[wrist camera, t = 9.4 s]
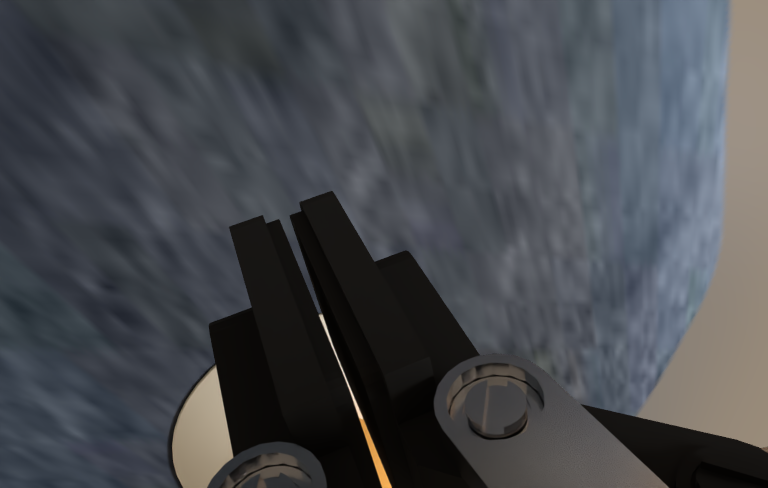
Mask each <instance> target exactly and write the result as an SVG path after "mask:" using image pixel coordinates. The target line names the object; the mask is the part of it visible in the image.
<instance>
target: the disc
mask: <svg viewBox="0 0 768 488" xmlns="http://www.w3.org/2000/svg"><path fill="white" fill-rule="evenodd" d="M319 317H320V319H321V321H322V324H323V326H324V329H325V331H326V333H327V336H328V338H329V341H330V343H331V346H332V348H333V350H334V353H335V355H336V352H335V349H334V347H333V344H332V341H331V338H330V335H329V333H328V330H327V327H326V324H325V321H324V318H323V315H322V313H321V314H319ZM336 358H337V360H338V362H339V359H338V357H337V355H336ZM339 365H340V367H341V364H340V362H339ZM341 370H342V372H343V375H344V377H345V380H346V382H347V385H348V388H349V390H350V393H351V396H352V399H353V401H354V404H355V407H356V410H357V413H358V416H359V418H361V419H363V417H362V415H361V412H360V410H359V407H358V405H357V403H356V400H355V398H354V395H353V393H352V391H351V388H350V386H349V383H348V381H347V379H346V376H345V374H344V371H343V369H342V367H341ZM172 451H173V463H174V467H175V470H176V474H177V477H178V478H179V480H180V482H181V484H182V486H183V488H207V487H208V485H209V483H210V481H211V479H212V478H213V477H214V476H215V475H216V473H217V472H218V471H219V470H220V469H221V468H222V467H223V466H224V464H225V463H227V462H228V461H230V460H231V459H232V458H233V453H232V447H231V442H230V437H229V432H228V426H227V421H226V416H225V411H224V406H223V400H222V395H221V390H220V385H219V379H218V374H217V369H216V365H215V366H214V367H212V368H211V369H210V370H209V371H208V372H207V374H206V375H205V376H204V377H203V378H202V379H201V380H200V381H199V382H198V384H197V385H196V386H195V388H194V389H193V391H192V392H191V394H190V395H189V396H188V398H187V399H186V401H185V403H184V405H183V407H182V409H181V411H180V413H179V416H178V419H177V422H176V425H175V428H174V434H173V442H172Z"/></svg>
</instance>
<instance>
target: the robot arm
mask: <svg viewBox="0 0 768 488" xmlns="http://www.w3.org/2000/svg"><path fill="white" fill-rule="evenodd" d="M299 203H300V208H301V212H298V213H295V214H292V215H290V219H291V222H292V225H293V228H294V231H295V234H296V237H297V240H298V243H299V246H300V249H301V252H302V255H303V258H304V261H305V264H306V267H307V270H308V273H309V276H310V279H311V282H312V285H313V288H314V291H315V294H316V297H317V300H318V303H319V306H320V309H321V312H322V315H323V318H324V321H325V324H326V327H327V330H328V333H329V335H330V338H331V341H332V344H333V347H334V349H335V352H336V355H337V357H338V359H339V362H340V364H341V367H342V369H343V371H344V374H345V376H346V379H347V381H348V383H349V386H350V388H351V391H352V393H353V395H354V398H355V400H356V403H357V405H358V407H359V410H360V412H361V415H362V417H363V419H364V422H365V424H366V427H367V429H368V432H369V434H370V436H371V439H372V441H373V444H374V446H375V448H376V451H377V453H378V456H379V458H380V460H381V463H382V465H383V468H384V470H385V472H386V475H387V477H388V480H389V482H390V484H391V487H392V488H768V447H763V448H759V447H756V446H753V445H750V444H747V443H744V442H741V441H738V440H735V439H731V438H726V437H722V436H718V435H713V434H708V433H704V432H700V431H696V430H691V429H687V428H682V427H678V426H674V425H669V424H665V423H660V422H656V421H652V420H647V419H643V418H639V417H634V416H630V415H625V414H621V413H617V412H612V411H608V410H604V409H599V408H595V407H590V406H586V405H582V404H579V403H578V402H577V401H576V400H575V399H574V398H573V397H572V396H571V395H570V394H569V393H568V392H567V391H566V390H565V389H564V388H562V387H561V386H560V385H559V384H558V383H557V382H556V381H555V380H554V379H553V378H552V377H551V376H550V375H549V374H548V373H546V372H545V371H544V370H543V369H541V368H540V367H539V366H537V365H536V364H534V363H533V362H531V361H530V360H527V359H524V358H521V357H518V356H515V355H509V354H498V353H494V354H487V355H479V353H478V352H477V350H476V349H475V347H474V346H473V344H472V343H471V341H470V340H469V338H468V337H467V336H466V334H465V333H464V331H463V330H462V328H461V327H460V325H459V324H458V322H457V321H456V319H455V318H454V316H453V315H452V313H451V312H450V311H449V309H448V308H447V306H446V305H445V303H444V302H443V300H442V299H441V297H440V296H439V294H438V293H437V291H436V290H435V288H434V287H433V285H432V284H431V283H430V281H429V280H428V278H427V277H426V275H425V274H424V272H423V271H422V269H421V268H420V266H419V265H418V263H417V262H416V260H415V259H414V258H413V256H412V255H411V254H410V253H409V252H408V251H406V250H405V251H403V252H400V253H397V254H395V255H392V256H389V257H386V258H384V259H381V260H378V261H376V262H374V260H373V259H372V257H371V255H370V254H369V252H368V250H367V249H366V247H365V245H364V243H363V242H362V240H361V238H360V237H359V235H358V233H357V231H356V230H355V228H354V226H353V225H352V223H351V221H350V220H349V218H348V216H347V214H346V213H345V211H344V209H343V208H342V206H341V204H340V202H339V201H338V199H337V197H336V196H335V194H334V193H333V191H330V192H327V193H324V194H321V195H319V196H316V197H313V198H310V199H307V200H304V201H301V202H299ZM229 228H230V232H231V236H232V239H233V243H234V246H235V250H236V253H237V257H238V260H239V264H240V267H241V271H242V274H243V278H244V281H245V285H246V288H247V292H248V295H249V299H250V302H251V306H252V308H249V309H247V310H244V311H241V312H239V313H236V314H233V315H231V316H228V317H225V318H223V319H220V320H217V321H214V322H212V323H210V324H209V331H210V337H211V343H212V348H213V353H214V358H215V364H216V369H217V374H218V379H219V385H220V390H221V395H222V400H223V406H224V411H225V416H226V421H227V426H228V432H229V437H230V442H231V447H232V453H233V458H232V459H231V460H230V461H228V462H227V463H225V464H224V466H223V467H222V468H221V469H220V470H219V471H218V472H217V473H216V475H215V476H214V477H213V478H212V479H211V481H210V483H209V485H208V487H207V488H382V485H381V482H380V479H379V476H378V473H377V470H376V467H375V464H374V461H373V458H372V455H371V452H370V449H369V446H368V443H367V440H366V437H365V434H364V431H363V428H362V425H361V422H360V419H359V416H358V413H357V410H356V407H355V404H354V401H353V399H352V396H351V393H350V390H349V388H348V385H347V382H346V380H345V377H344V375H343V372H342V370H341V367H340V365H339V362H338V360H337V358H336V355H335V353H334V350H333V348H332V346H331V343H330V341H329V338H328V336H327V333H326V331H325V329H324V326H323V324H322V321H321V319H320V317H319V314H318V312H317V309H316V307H315V305H314V302H313V300H312V297H311V295H310V292H309V290H308V288H307V285H306V283H305V280H304V278H303V276H302V273H301V271H300V268H299V266H298V263H297V261H296V259H295V256H294V254H293V251H292V249H291V247H290V244H289V242H288V239H287V237H286V234H285V232H284V230H283V227H282V225H281V222H280V220H279V219H278V220H275V221H272V222H269V223H267V224H266V223H265V220H264V217H263V215H261V216H259V217H256V218H253V219H250V220H247V221H244V222H241V223H239V224H236V225H233V226H230V227H229Z"/></svg>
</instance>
